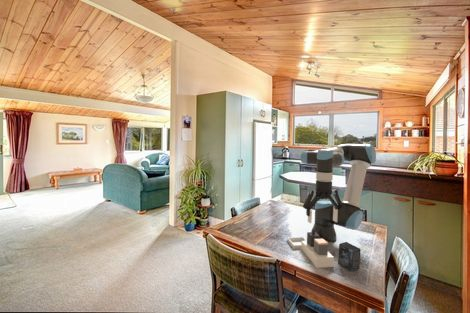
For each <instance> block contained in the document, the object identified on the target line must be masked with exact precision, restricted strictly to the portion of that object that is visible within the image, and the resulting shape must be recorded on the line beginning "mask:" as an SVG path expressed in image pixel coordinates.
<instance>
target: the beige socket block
mask: <svg viewBox="0 0 470 313" xmlns="http://www.w3.org/2000/svg"><path fill="white" fill-rule="evenodd" d="M300 250H301V251H302V252H303V253H304V254H305V255H306V256H307V258H308V259H309V260H310V261H311V262H312V265H313V266H314V267H315V268H316V269H320V268H321V269H322V268H334V265H335V264H334V263H335V257H334V256H333V255H336V253H335V252H333V251H332V252H330V251H328V255H318V254H317V253H316V252H315V251H314V247H310V246H309V245H308V243H307V241H301V249H300Z"/></svg>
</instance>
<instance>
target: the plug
mask: <svg viewBox="0 0 470 313" xmlns="http://www.w3.org/2000/svg"><path fill="white" fill-rule="evenodd" d="M328 250H329V242H328V241H325V240H324V239H314V251H315V252H316V253H317V254H318V255H328V252H329V251H328Z"/></svg>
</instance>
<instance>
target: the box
mask: <svg viewBox="0 0 470 313" xmlns="http://www.w3.org/2000/svg"><path fill="white" fill-rule="evenodd" d="M361 251H362V250H361V248H360V247H357V246H355V245H353V244H352V243H350V242H347V241H346V242H341V243H339V245H338V259H337V260H338V261H337V263H338V264H339V265H340V266H342V267H343V268H345V269H347V271H350V272H355V271H358V270H360V266H361V265H360V263H361V262H360V261H361Z"/></svg>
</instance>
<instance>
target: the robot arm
mask: <svg viewBox="0 0 470 313" xmlns="http://www.w3.org/2000/svg"><path fill="white" fill-rule="evenodd" d="M376 160H377V152H376V147H375V146H374V145H373V144H370V143H369V144H367V143H365V144H364V143H362V144H361V143H345V144H344V143H343V144H339V145H334V146H332V147H331V148H321V149H317V150H312V151H311V150H308V151H307V150H304V151H302V152H301V154H300V162H301V163H302V164H305V165H312V166H316V170H315V172H316V175H315V179H316V180H315V189H309V191H308V195H307V197H306V199H305V201H304V203H303V205H302V207H303V209H305V210H306V211H305V212H306V216H307V222H308V223H309V224H312V221H313V220H312V218H313V216H312V215H313V214H312V213H313V210H312V208H313V207H315V208H314V223H313V224H314V225H313V227H312V228H315V232H316V233H317V234H318V235H319V236H320V239H324V240H325V241H326V242H328V243H330V242H334V241H336V240H337V233H336V229H335V225H336V226H338V227H342V228H345V229H348V230H353V231H354V230H357V229H358V228H360V227H361V224H362V222H363V218H364V217H363V216H364V212H363V211H362V210H361V209H362V208H361V206H360V201H361V197H362V192H363V188H364V183H365V179H366V175H367V174H366V173H367V170H368V169H369V168H370V167H371V165H372V164H375V163H376ZM345 162H349V164H350V165H351V167H350V171H349V176H348V179H347V182H346V187H345V191H344V195H343V200H341V198H340V196H339V192H338V189H335V188H333V178H334V177H333V171H334V168H337V167H340V166H342V165H343V164H344V163H345ZM332 194H333V196H332ZM333 197H334V198H333ZM334 199H335V200H334ZM311 232H312V230H311Z"/></svg>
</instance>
